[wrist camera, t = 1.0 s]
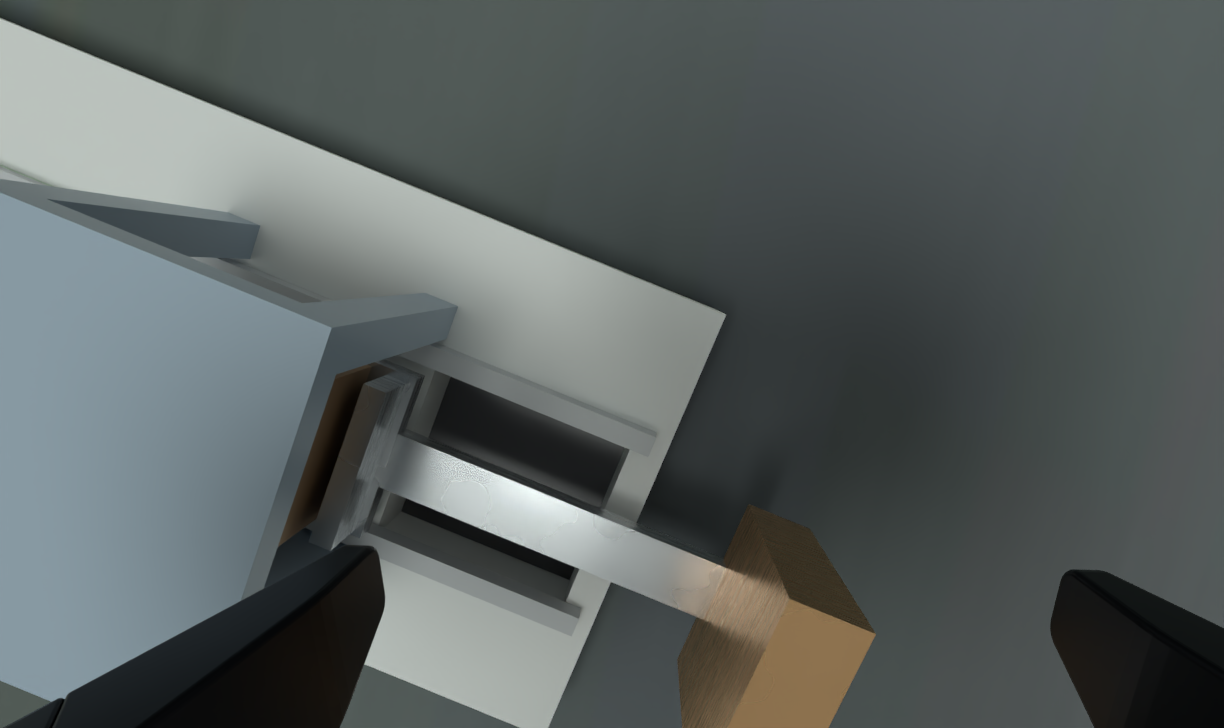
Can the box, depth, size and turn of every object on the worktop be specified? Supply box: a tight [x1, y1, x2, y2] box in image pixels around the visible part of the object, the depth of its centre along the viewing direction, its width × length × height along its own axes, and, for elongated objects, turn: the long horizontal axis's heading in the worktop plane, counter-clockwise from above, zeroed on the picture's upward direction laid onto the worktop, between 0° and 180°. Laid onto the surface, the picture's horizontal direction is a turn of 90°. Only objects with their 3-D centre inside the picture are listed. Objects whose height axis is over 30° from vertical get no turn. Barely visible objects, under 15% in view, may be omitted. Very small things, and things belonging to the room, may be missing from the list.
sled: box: [309, 359, 876, 728], centre depth 15 cm, size 19×5×5 cm, turn 68°
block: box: [278, 365, 371, 547], centre depth 15 cm, size 4×4×4 cm
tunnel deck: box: [0, 18, 726, 728], centre depth 16 cm, size 25×14×10 cm, turn 68°
